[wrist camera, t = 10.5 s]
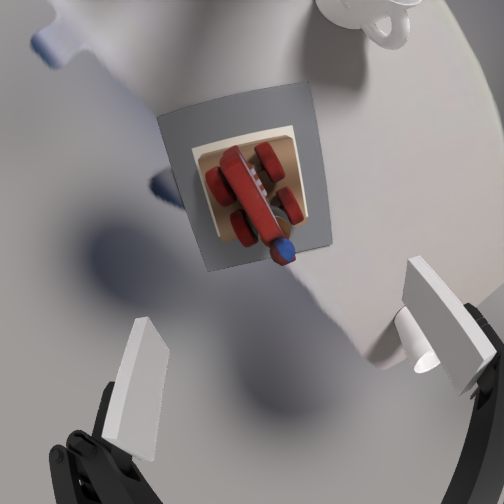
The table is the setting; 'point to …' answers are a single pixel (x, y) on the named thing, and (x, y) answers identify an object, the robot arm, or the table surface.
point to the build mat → (239, 132)
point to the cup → (415, 342)
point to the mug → (371, 18)
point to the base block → (288, 160)
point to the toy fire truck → (256, 200)
